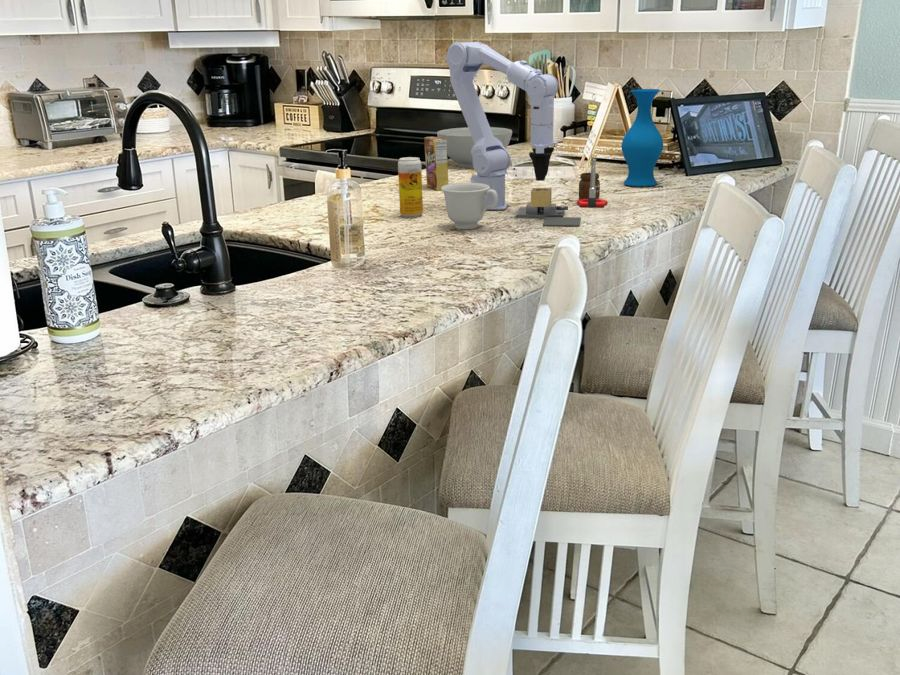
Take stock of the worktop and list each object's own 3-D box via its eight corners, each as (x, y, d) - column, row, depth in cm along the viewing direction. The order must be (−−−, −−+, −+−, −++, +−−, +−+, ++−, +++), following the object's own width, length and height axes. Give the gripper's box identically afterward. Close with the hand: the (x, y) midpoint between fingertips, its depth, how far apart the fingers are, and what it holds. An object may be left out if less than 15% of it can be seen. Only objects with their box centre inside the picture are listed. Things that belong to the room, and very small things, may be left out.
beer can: (406, 219, 220) (403, 161, 215) (396, 215, 225) (393, 158, 220) (426, 216, 222) (424, 158, 217) (417, 212, 227) (414, 156, 222)
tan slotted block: (530, 206, 219) (530, 191, 217) (532, 203, 223) (532, 187, 222) (550, 206, 218) (550, 191, 216) (551, 203, 222) (551, 188, 221)
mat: (542, 226, 208) (542, 224, 208) (545, 218, 216) (545, 216, 216) (579, 226, 206) (579, 225, 206) (580, 218, 215) (580, 217, 214)
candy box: (425, 186, 265) (423, 137, 259) (438, 185, 266) (436, 136, 261) (436, 191, 257) (434, 140, 252) (449, 189, 259) (447, 139, 253)
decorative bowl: (522, 161, 309) (522, 127, 305) (496, 172, 287) (496, 136, 282) (455, 158, 320) (455, 126, 316) (425, 169, 297) (424, 134, 293)
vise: (516, 217, 218) (516, 194, 216) (520, 209, 227) (520, 187, 225) (566, 218, 216) (567, 195, 214) (568, 210, 225) (569, 188, 223)
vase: (669, 184, 257) (675, 89, 247) (640, 189, 250) (645, 92, 241) (640, 180, 266) (644, 87, 257) (611, 184, 260) (615, 90, 250)
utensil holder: (575, 199, 238) (576, 157, 234) (582, 196, 244) (584, 154, 239) (595, 201, 236) (597, 157, 232) (602, 197, 241) (604, 154, 237)
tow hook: (577, 202, 237) (576, 207, 228) (578, 155, 233) (577, 159, 225) (607, 203, 236) (607, 208, 227) (609, 156, 232) (609, 159, 223)
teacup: (485, 235, 200) (484, 193, 197) (432, 229, 207) (431, 188, 204) (509, 225, 210) (509, 185, 206) (458, 220, 217) (457, 181, 214)
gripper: (556, 127, 206) (555, 182, 211) (559, 121, 219) (558, 173, 224) (527, 127, 207) (527, 182, 212) (532, 121, 221) (532, 173, 225)
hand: (541, 178), depth 218 cm, fingers open, 7 cm apart
